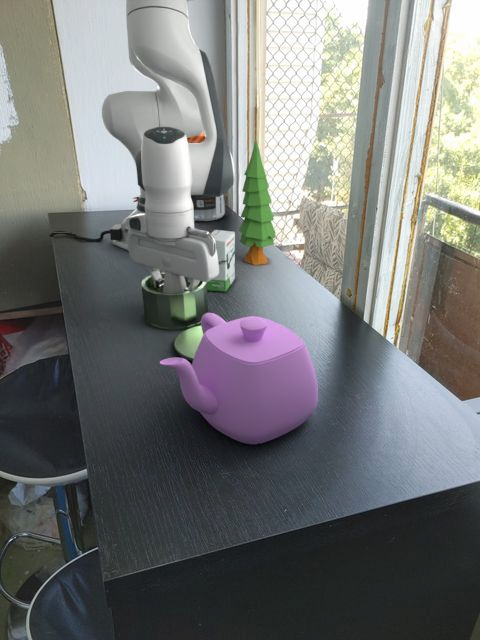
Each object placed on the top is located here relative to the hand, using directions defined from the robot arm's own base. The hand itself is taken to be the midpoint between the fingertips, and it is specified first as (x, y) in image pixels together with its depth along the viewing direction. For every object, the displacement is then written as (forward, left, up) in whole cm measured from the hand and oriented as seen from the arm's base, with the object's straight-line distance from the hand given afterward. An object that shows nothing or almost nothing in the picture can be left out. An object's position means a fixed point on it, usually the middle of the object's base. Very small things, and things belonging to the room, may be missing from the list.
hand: (174, 292), depth 104 cm
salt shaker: (0, 0, -5) cm, 5 cm away
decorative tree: (-5, +38, -6) cm, 38 cm away
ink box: (-3, +19, -6) cm, 20 cm away
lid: (+14, -6, -5) cm, 16 cm away
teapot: (+31, -20, -6) cm, 37 cm away
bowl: (0, 0, -5) cm, 5 cm away
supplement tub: (-45, +64, -6) cm, 78 cm away
